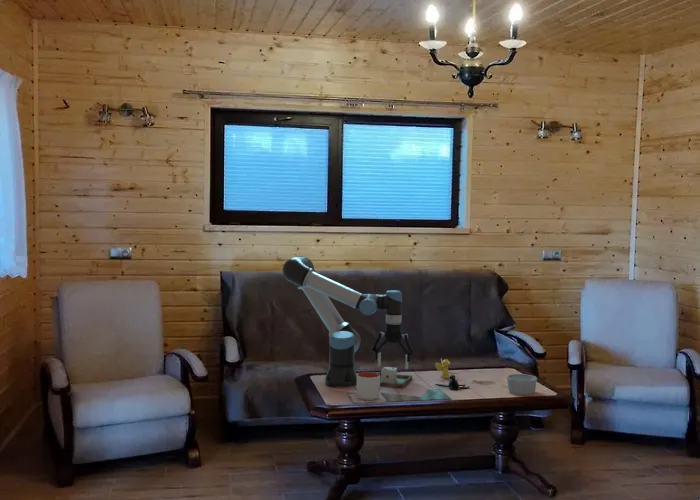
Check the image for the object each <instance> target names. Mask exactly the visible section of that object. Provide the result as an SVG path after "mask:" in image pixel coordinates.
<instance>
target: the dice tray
mask: <svg viewBox="0 0 700 500" xmlns="http://www.w3.org/2000/svg"><path fill="white" fill-rule="evenodd" d="M375 373H377V374H379V375H380V387H387V388H395V389H396V388H399V389H404V387H406V386H407V385H408V384H409V383H410V382H411V381H412V380H413V375H411V374H410V375H409V374H398V373H397V381H396V382H395V383H385V382H381V372H377V371H376V372H375Z"/></svg>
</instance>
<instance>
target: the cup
mask: <svg viewBox="0 0 700 500" xmlns="http://www.w3.org/2000/svg"><path fill="white" fill-rule="evenodd" d="M356 375H357V385H356V391H355V392H356V397H357V398H358V399H359V400H363V401H376V400H377V399H379V397H380V394H381V391H380V390H381V386H380V375H379V374H377V373H376V372H371V371H369V372H368V371H367V372H365V371H364V372H359V373H356Z"/></svg>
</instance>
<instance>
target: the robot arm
mask: <svg viewBox="0 0 700 500" xmlns="http://www.w3.org/2000/svg"><path fill="white" fill-rule="evenodd" d="M314 267H315V266H314V263H313V262H312V260H311V259H310V258H309V257H307V256H303V255H297V256H294V257H292V258H289V259H287V260H286V261H285V262H284V263H283V265H282V270H281V271H282V275H283V277H284V278H285V280H286V281H288V282H289V283H292V284H294V285H295V286H296V288H297V289H298V290H302V291H303V293H304V295H305V296H306V298H307V300H308V301H309V302H310V304H311V306H312V307H313V308H314V310H315V311H316V313H317V315H318V316H319V317H320V319H321V321H322V323H323V324H324V325H325V327H326V328H327V330H328V338H329V340H328V345H329V346H328V347H329V348H328V349H329V350H328V352H329V354H328V359H329V361H328V363H329V364H328V365H329V366H328V368H327V369H328V370H327V372H326V375H325V378H324V379H325V380H324V383H325V384H324V385H326V386H329V387H332V388H347V387H348V388H349V387H354V386H357V372H356V371H357V370H356V369H355V353H356V352H358V350H359V348H360V347H361V346H360V345H361V342H362V341H361V336H360V334H359V333H358V331H356V329H354V328H353V327H352V325H351V324H350V322H347V321H344V319H343V317H342V316H341V315H340V313H339V311H338V310H337V308H336V307H335V305H334V303H333V301H331V299H334V300H335V301H338V302H340V303H342V304H344V305H347V306H349V307H351V308H353V309H354V310H357V311H359V312H360V313H362V315H364V316H371V315H374V314H375V313H376V312H377V311H385V332H383V331H380V332H379V333H378V336H377V339H376V341H375V343H374V345H373V347H372V348H371V351H372V352H373V353H374V352H375V360H377V368H378V367H379V368H380V367H381V360H382V355H381V354H382V352H380V351H381V350H382V349H383V348H384V347H385V346H386V344H387V343H389V344H391V343H392V344H398V345H399V346H400V347H401V349H402V350H403V351H404V353H405V363H404V364H405V367H404V368H405V370H408V369H409V363H410V362H411V356H412V355H414V354H415V350H414V347H413V346H412V344H411V342H410V338H409V334H408V333H405V334H403V333H402V319H403V318H402V317H403V314H402V313H403V312H402V310H403V294H402V291H400V290H395V289H393V290H392V289H391V290H390V289H389V290H387V291H386V293H385V294H377V293H376V294H374V293H373V294H372V293H361V292H359V291H357V290H354V289H353V288H351V287H348V286H346V285H345V284H342V283H339V282H338V281H335V280H333V279H330V278H328V277H327V276H323V275H321V274H319V273H317V272H316V270H315V268H314ZM330 298H331V299H330ZM384 337H385V340H384V341H383V342H382V343H381V345H380V346H379V344H380V342H381V340H382V338H384ZM402 338H403V339H404V341H405V343H406V345H405V343H404V341H403V340H402ZM378 346H379V347H378Z"/></svg>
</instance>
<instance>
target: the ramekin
mask: <svg viewBox="0 0 700 500" xmlns="http://www.w3.org/2000/svg"><path fill="white" fill-rule="evenodd" d="M506 380H507V389H508V391H509V393H511V394H513V395H516V394H517V395H516V396H530V395H533V394H534V393H535V392H536V387H537V382H538V378H537V377H536V376H535V375H531V374H526V373H525V374H524V373H512V374H508V375H507V376H506Z"/></svg>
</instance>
